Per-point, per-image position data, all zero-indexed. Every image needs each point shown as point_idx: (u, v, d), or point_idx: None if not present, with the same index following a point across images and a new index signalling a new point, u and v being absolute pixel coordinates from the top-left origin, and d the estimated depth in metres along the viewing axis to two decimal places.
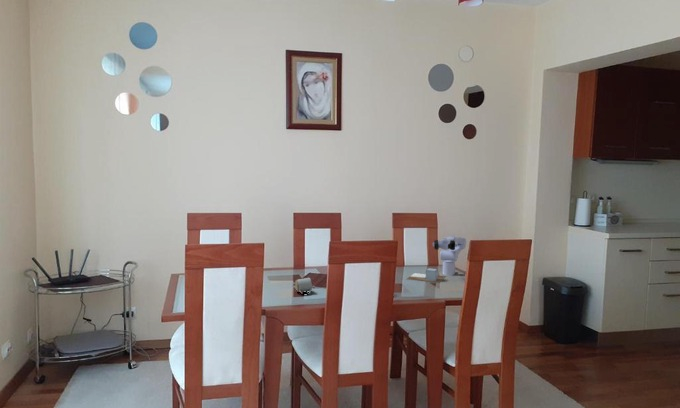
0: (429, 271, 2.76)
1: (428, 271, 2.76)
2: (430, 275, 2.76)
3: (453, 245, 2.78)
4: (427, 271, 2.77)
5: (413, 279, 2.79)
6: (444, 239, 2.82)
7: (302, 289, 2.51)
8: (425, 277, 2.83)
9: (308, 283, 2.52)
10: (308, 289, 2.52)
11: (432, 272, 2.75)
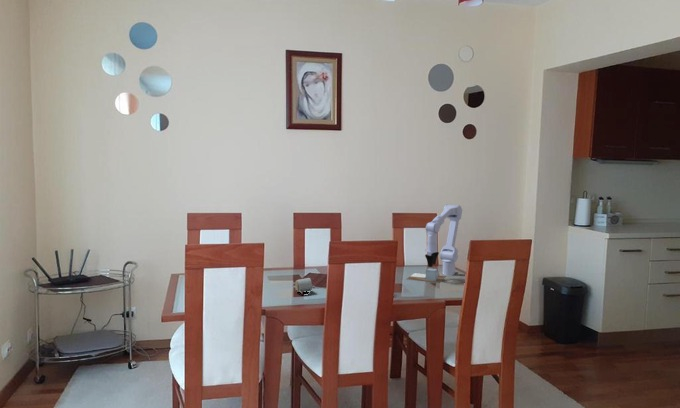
0: (429, 271, 2.76)
1: (428, 271, 2.76)
2: (430, 275, 2.76)
3: None
4: (427, 271, 2.77)
5: (413, 279, 2.79)
6: None
7: (302, 289, 2.50)
8: (425, 277, 2.83)
9: (308, 283, 2.51)
10: (308, 289, 2.51)
11: (432, 272, 2.75)
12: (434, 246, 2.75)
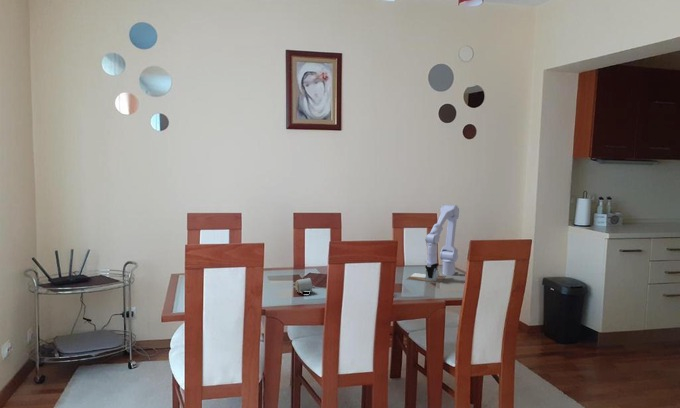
0: None
1: None
2: None
3: None
4: None
5: (413, 279, 2.79)
6: None
7: (302, 289, 2.50)
8: (425, 277, 2.83)
9: (308, 283, 2.51)
10: (308, 289, 2.51)
11: None
12: (434, 257, 2.75)
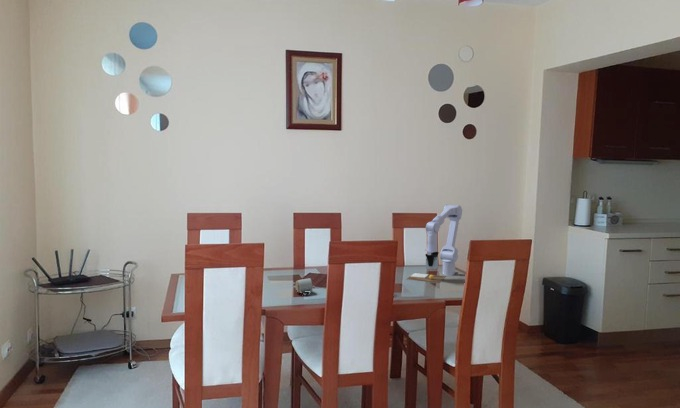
0: None
1: None
2: None
3: None
4: None
5: (413, 279, 2.79)
6: None
7: (303, 290, 2.49)
8: (425, 277, 2.83)
9: (308, 283, 2.50)
10: (309, 290, 2.50)
11: None
12: (434, 246, 2.75)
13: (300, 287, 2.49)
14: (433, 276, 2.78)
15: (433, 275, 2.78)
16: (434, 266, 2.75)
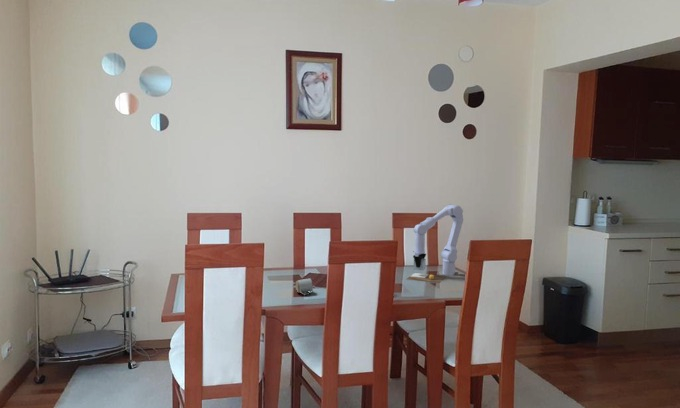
0: None
1: None
2: None
3: None
4: None
5: (413, 279, 2.79)
6: None
7: (303, 290, 2.49)
8: (425, 277, 2.83)
9: (308, 283, 2.50)
10: (309, 290, 2.50)
11: None
12: (421, 247, 2.84)
13: (300, 287, 2.49)
14: (433, 276, 2.78)
15: (433, 275, 2.78)
16: (421, 267, 2.84)
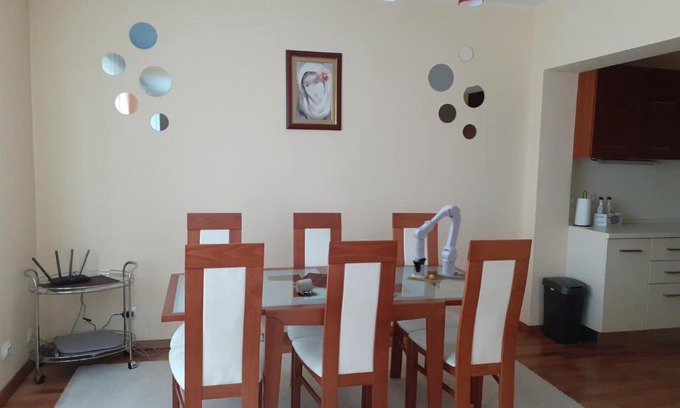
0: None
1: None
2: None
3: None
4: None
5: (413, 279, 2.79)
6: None
7: (303, 290, 2.49)
8: (425, 277, 2.83)
9: (309, 284, 2.50)
10: (309, 290, 2.50)
11: (420, 268, 2.85)
12: (421, 252, 2.84)
13: (300, 287, 2.48)
14: (433, 276, 2.78)
15: (433, 275, 2.78)
16: (421, 273, 2.84)
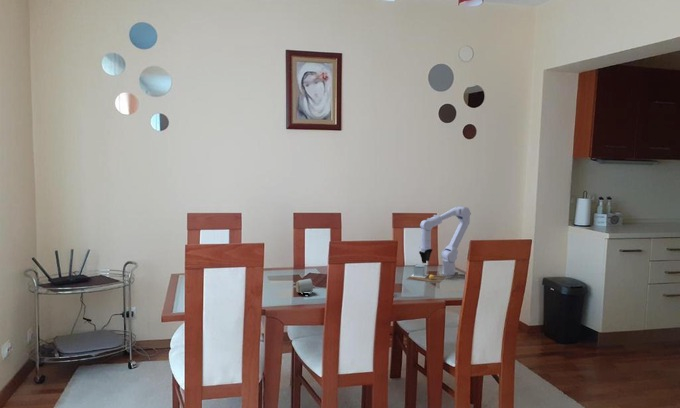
0: (417, 267, 2.85)
1: (416, 267, 2.86)
2: (418, 271, 2.85)
3: None
4: (415, 267, 2.86)
5: (413, 279, 2.79)
6: None
7: (303, 290, 2.48)
8: (425, 277, 2.83)
9: (309, 284, 2.49)
10: (309, 290, 2.49)
11: (420, 268, 2.85)
12: (428, 243, 2.85)
13: (300, 287, 2.48)
14: (433, 276, 2.78)
15: (433, 275, 2.78)
16: (421, 273, 2.84)
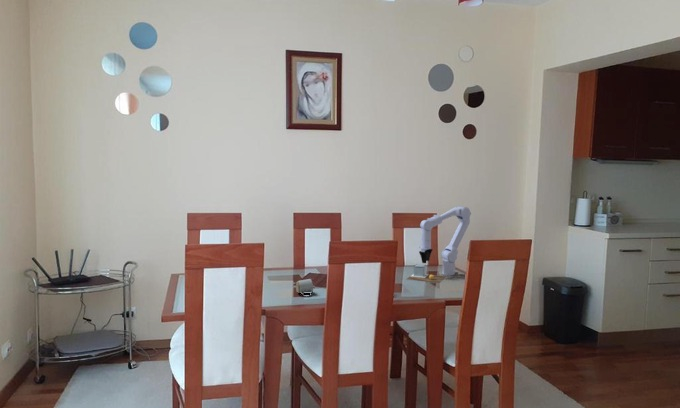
0: (417, 267, 2.85)
1: (416, 267, 2.86)
2: (418, 271, 2.85)
3: None
4: (415, 267, 2.86)
5: (413, 279, 2.79)
6: None
7: (303, 290, 2.48)
8: (425, 277, 2.83)
9: (309, 284, 2.49)
10: (309, 290, 2.49)
11: (420, 268, 2.85)
12: (428, 243, 2.85)
13: (301, 288, 2.48)
14: (433, 276, 2.78)
15: (433, 275, 2.78)
16: (421, 273, 2.84)
